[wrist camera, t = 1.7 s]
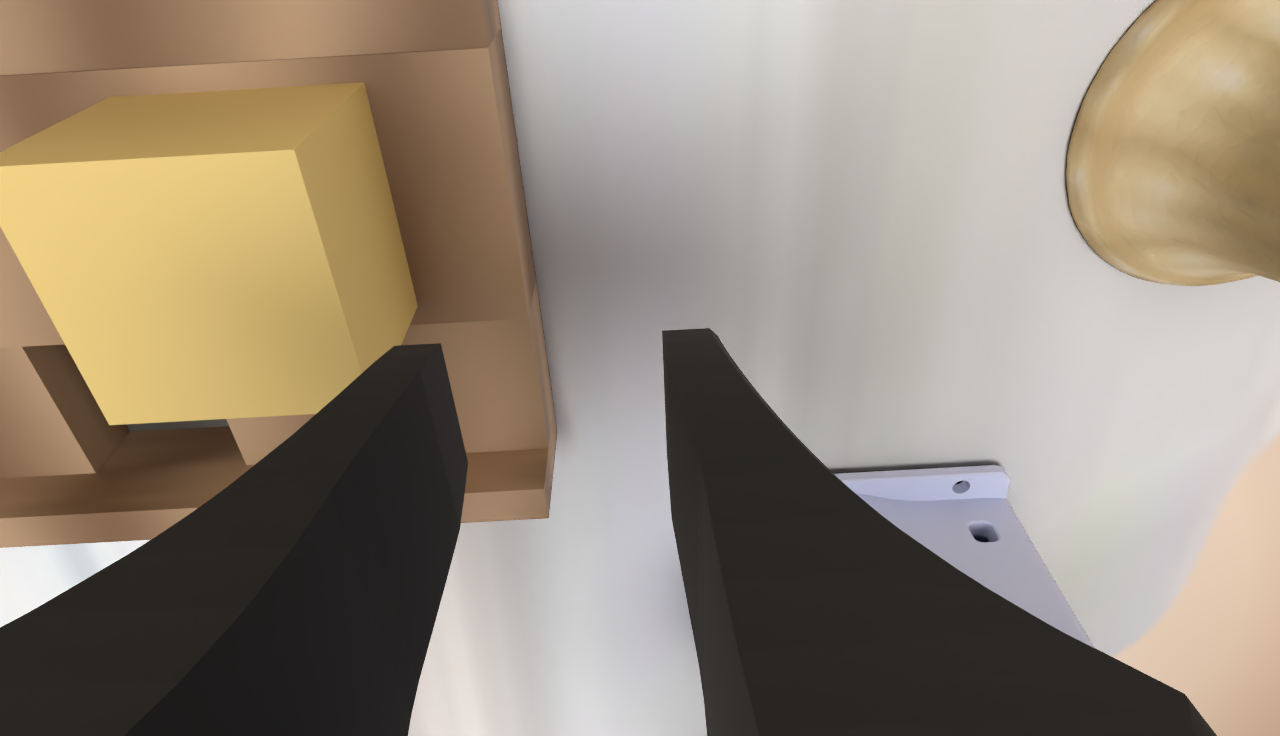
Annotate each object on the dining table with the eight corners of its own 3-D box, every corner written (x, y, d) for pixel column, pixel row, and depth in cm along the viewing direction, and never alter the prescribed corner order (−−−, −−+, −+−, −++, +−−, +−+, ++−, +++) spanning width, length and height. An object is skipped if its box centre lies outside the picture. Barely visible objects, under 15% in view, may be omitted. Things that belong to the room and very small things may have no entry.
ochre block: (363, 82, 15) (294, 150, 12) (417, 306, 18) (373, 410, 15) (109, 96, 15) (-32, 167, 12) (202, 317, 18) (109, 425, 15)
